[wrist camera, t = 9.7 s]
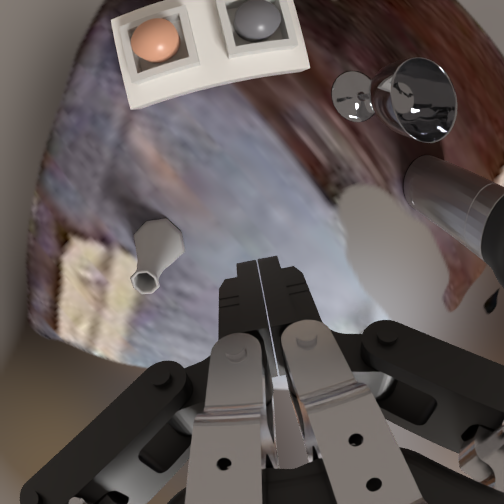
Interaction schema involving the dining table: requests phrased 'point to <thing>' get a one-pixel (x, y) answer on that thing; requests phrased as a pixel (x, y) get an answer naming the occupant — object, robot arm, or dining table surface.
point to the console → (205, 49)
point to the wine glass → (400, 98)
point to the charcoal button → (256, 20)
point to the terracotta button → (155, 40)
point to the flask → (155, 252)
